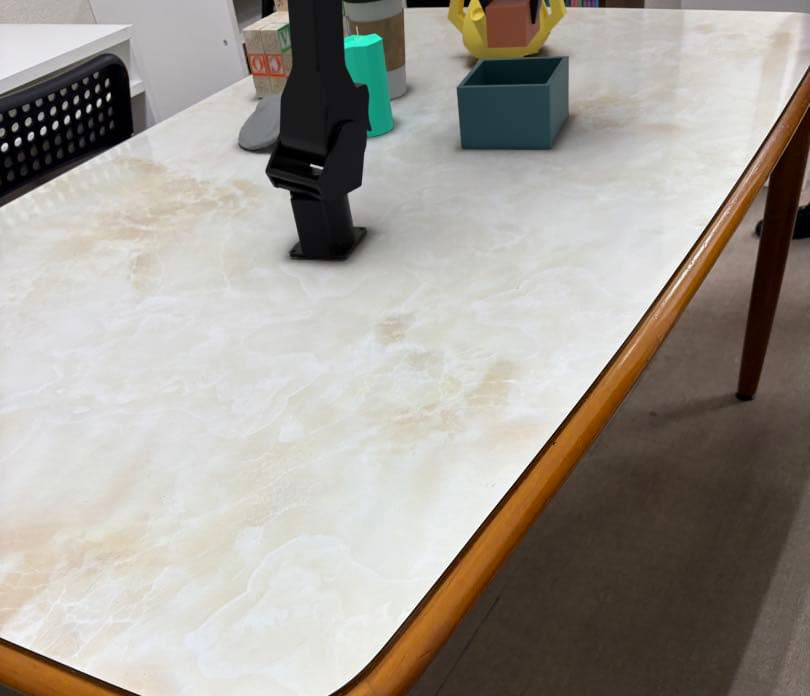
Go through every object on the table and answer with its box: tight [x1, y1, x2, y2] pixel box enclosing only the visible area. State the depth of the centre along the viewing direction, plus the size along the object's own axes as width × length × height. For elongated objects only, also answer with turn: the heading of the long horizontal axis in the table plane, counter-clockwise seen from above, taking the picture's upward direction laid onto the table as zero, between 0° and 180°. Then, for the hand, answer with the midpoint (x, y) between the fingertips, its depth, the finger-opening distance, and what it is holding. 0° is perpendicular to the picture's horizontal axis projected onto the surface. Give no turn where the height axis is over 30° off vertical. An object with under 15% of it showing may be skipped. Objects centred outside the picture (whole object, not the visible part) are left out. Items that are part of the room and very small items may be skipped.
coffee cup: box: [342, 0, 408, 100], centre depth 117 cm, size 8×8×15 cm
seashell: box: [237, 91, 283, 151], centre depth 114 cm, size 12×6×10 cm
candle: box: [344, 27, 395, 138], centre depth 109 cm, size 6×6×12 cm
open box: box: [456, 55, 570, 150], centre depth 103 cm, size 7×11×10 cm
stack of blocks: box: [241, 0, 351, 99], centre depth 129 cm, size 21×6×12 cm, turn 152°
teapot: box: [447, 0, 568, 65], centre depth 123 cm, size 20×18×11 cm
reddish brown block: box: [485, 0, 540, 48], centre depth 96 cm, size 6×4×4 cm
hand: (513, 24), depth 96 cm, fingers closed on reddish brown block, 4 cm apart
